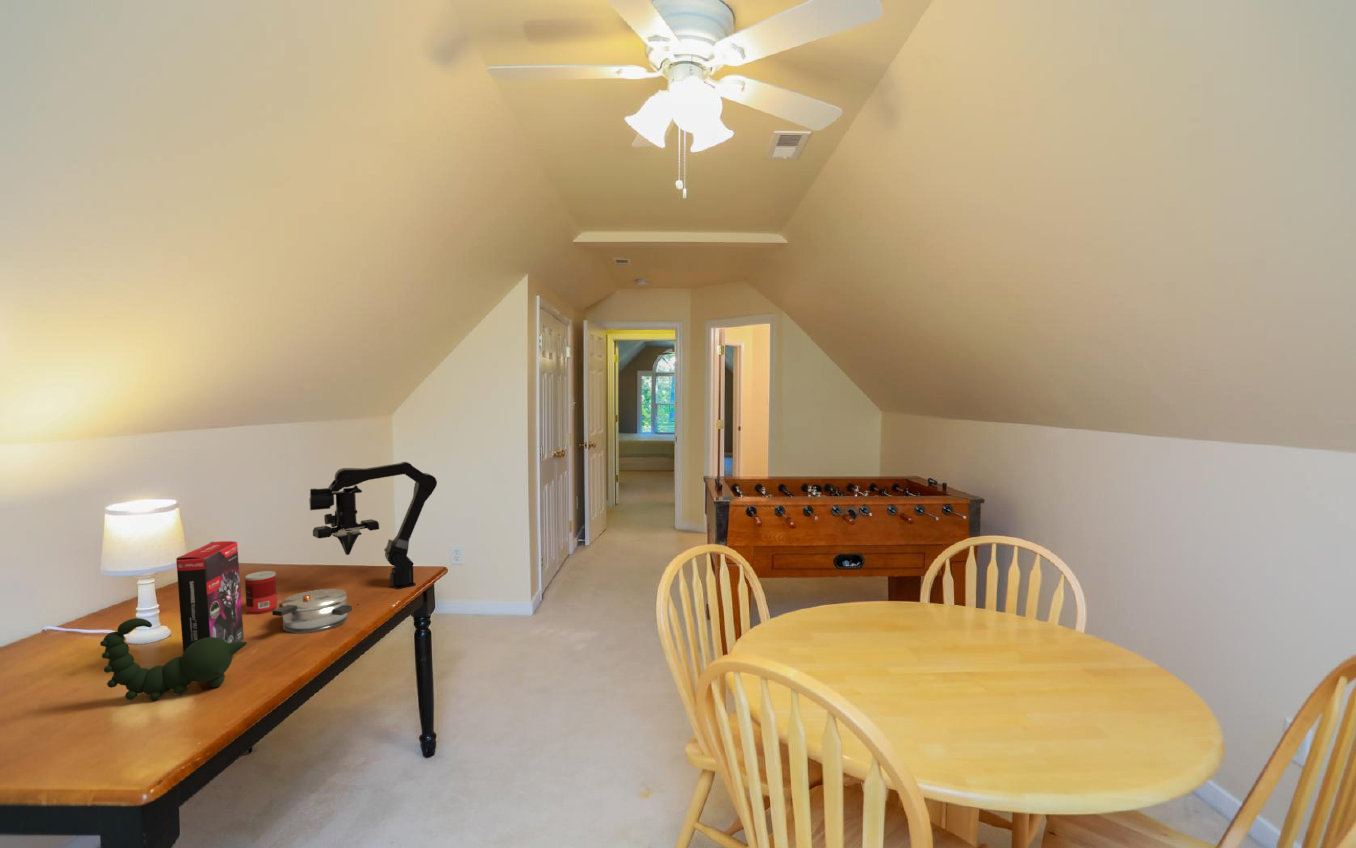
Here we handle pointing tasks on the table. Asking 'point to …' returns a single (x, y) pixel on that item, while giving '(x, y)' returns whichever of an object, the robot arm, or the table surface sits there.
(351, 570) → the table surface
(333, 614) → the cooker pot
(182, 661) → the toy figurine
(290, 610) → the cooker lid
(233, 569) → the graphics card box
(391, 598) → the table surface
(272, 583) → the canned food
